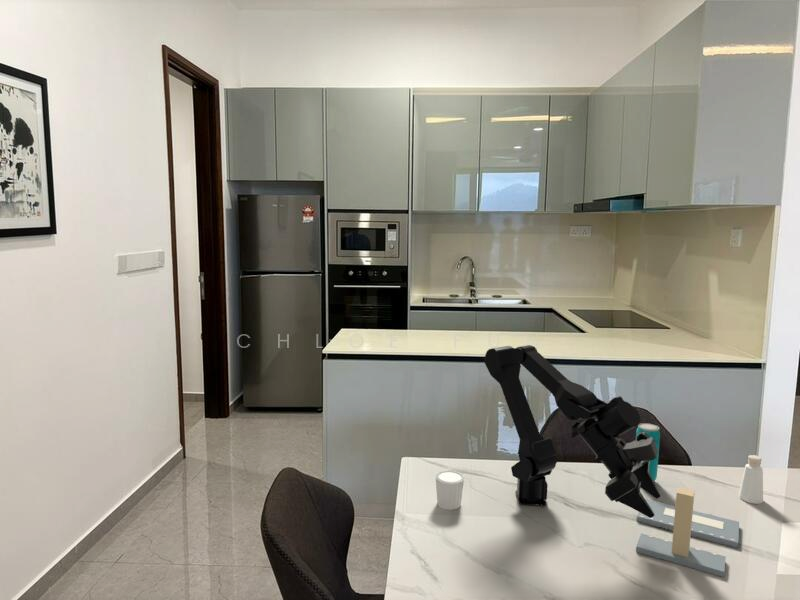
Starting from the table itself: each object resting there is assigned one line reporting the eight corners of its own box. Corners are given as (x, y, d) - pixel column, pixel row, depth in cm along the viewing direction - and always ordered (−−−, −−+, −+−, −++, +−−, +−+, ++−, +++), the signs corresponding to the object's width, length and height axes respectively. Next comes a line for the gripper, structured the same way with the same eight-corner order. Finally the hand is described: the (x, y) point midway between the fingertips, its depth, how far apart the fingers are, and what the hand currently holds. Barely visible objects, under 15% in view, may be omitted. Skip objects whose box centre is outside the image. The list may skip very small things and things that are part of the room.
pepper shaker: (741, 491, 147) (745, 450, 145) (766, 499, 143) (770, 457, 141) (735, 498, 143) (739, 456, 141) (760, 506, 139) (764, 463, 137)
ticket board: (636, 521, 131) (637, 515, 131) (643, 503, 140) (644, 498, 140) (737, 548, 121) (738, 542, 121) (738, 526, 130) (739, 521, 129)
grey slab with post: (635, 551, 119) (640, 487, 117) (640, 537, 124) (645, 476, 122) (723, 577, 111) (730, 508, 109) (725, 561, 116) (731, 495, 114)
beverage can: (653, 477, 154) (658, 423, 152) (658, 486, 149) (662, 431, 147) (631, 474, 155) (635, 421, 153) (634, 484, 150) (638, 429, 148)
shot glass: (431, 507, 136) (431, 479, 135) (440, 495, 143) (440, 468, 142) (458, 513, 134) (459, 485, 133) (466, 500, 140) (467, 473, 139)
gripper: (626, 439, 111) (684, 508, 107) (642, 411, 127) (693, 471, 123) (582, 467, 117) (636, 534, 113) (602, 438, 132) (650, 495, 128)
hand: (655, 506), depth 119 cm, fingers open, 9 cm apart
